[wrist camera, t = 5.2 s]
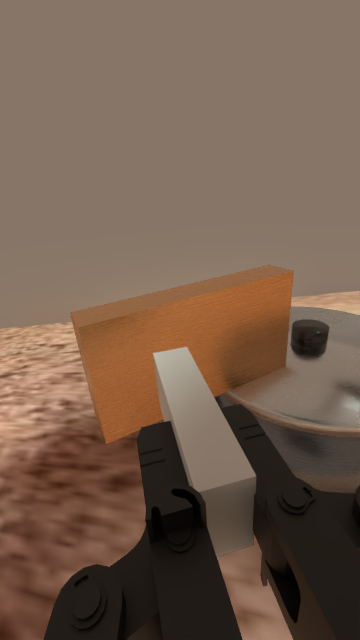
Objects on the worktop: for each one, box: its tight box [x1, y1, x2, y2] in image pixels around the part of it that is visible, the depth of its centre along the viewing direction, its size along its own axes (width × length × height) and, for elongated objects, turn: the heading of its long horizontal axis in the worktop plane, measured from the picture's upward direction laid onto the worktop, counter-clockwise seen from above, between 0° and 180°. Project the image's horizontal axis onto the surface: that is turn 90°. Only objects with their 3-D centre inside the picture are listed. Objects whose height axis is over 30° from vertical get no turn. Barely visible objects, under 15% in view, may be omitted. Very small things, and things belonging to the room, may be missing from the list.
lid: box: [70, 265, 360, 444], centre depth 24 cm, size 28×19×9 cm, turn 118°
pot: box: [214, 394, 360, 493], centre depth 30 cm, size 32×18×12 cm, turn 88°
